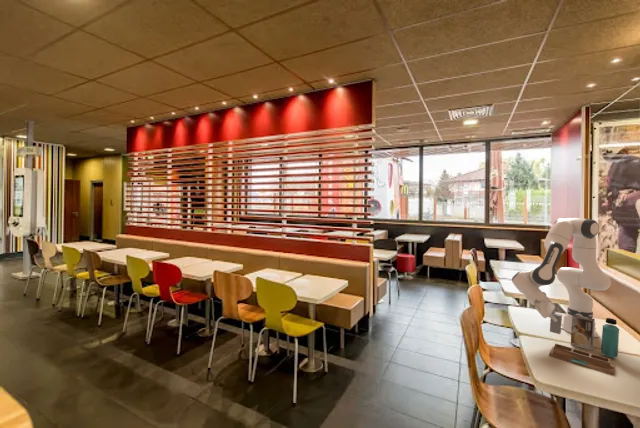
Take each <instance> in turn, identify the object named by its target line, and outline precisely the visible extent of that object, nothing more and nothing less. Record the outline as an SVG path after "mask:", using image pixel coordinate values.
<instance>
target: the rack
mask: <svg viewBox="0 0 640 428" xmlns="http://www.w3.org/2000/svg"><path fill="white" fill-rule="evenodd" d="M548 356H549V357H552V358H556V359H559V360H563V361H565V362H568V363H571V364H575V365H579V366H582V367H585V368H589V369H592V370H595V371H599V372H603V373H604V374H609V375H612V376H614V375H615V363H612V362H611V358H608V357H607V356H601V355H598V354H595V353H591V352H587V351H584V350H580V349H576V348H573V347H570V346H566V345H562V344H559V343H555V344H554V345H553V346H552V347H551V350H550V352H549V353H548Z"/></svg>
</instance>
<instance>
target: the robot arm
mask: <svg viewBox="0 0 640 428" xmlns="http://www.w3.org/2000/svg"><path fill="white" fill-rule="evenodd" d="M599 232H600V225H599V223H598V221H596V220H594V219H591V218H583V217H581V218H580V217H560V218H557V219H556V220H555V221H554V223H553V225H552V226H551V228H550V229H549V231H548V232H547V234H546V237H545V239H544V242H543V246H544V248H545V250H546V253H545V255H544V258H543V259H542V262H541V264H540V265H539V266H538V267H536V268H534V269H533V270H532V269H531V270H527V271H518V272H516V273H515V274H514V275H513V276H512V277H511V283H512V285H514V287H515V288H516V289H517V290H518V292H520V293H521V294H522V295H523V296H524V297H525V299H526V300H527V301H528V302H529V303H530V304H531V305H532V306H534V308H535V310H536V311H537V312H538V313H539V315H540V316H541V317H542V318H543V319H547V318H550V320H551V319H552V320H553V321H554V322H557V321H558V319H557V318H556V317H555V316H553V314H552V313H556V314H557V312H556V311H555V309H556V305H555V304H554V302H553V301H552V300H551V299H550V298H549V297H548V296H547V293H546V292H545V291H542V290H541V289H540V287H543V286H549V285H551V284H553V283H554V281H555V279H556V278H557V281H559V282H560V283H561V284H562V285H563V286H564V288H565V289H566V291H567V294H568V306H567V310H566V311H567V312H566V313H567V314H565V315H563V320H562V321H563V322H562V323H561V330H564V331H566V332H567V333H569V334H571V328H572V317H573V315H574V314H575V315H580V316H584V317H588V318H592V319H594V312H593V305H594V303H593V302H594V300H593V298H592V297H591V296H590V295H589V294H587V293H586V292H585V291H584V290H583V289H588V290H592V291H607V290H608V289H609V288H610V287H611V285H612V280H611V278H610V277H609V275H608V274H607V273H605V272H604V271H603V270H602V269H601V268H600V266H599V264H598V261H597V235H598V234H599ZM572 237H573V238H572ZM571 240H572V246H571V247H572V249H571V250H572V251H571V257H572V260H573V261H574V262H575V263H577V264H579V265H580V266H581V267H582V268H576V267H570V266H569V267H567V266H565V267H563V266H562V267H560V268H559V269H558V270H557V272H556V267H557V264H558V262H559V260H560V259H561V255H562V254H563V253H564V252H565V251H566V249H567V247H568V246H569V244H570V242H571ZM596 329H597V328H596V322H594V338H600V335H599V332H597V330H596Z"/></svg>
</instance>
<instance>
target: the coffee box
mask: <svg viewBox="0 0 640 428" xmlns="http://www.w3.org/2000/svg"><path fill="white" fill-rule="evenodd" d="M595 321H596V320H595V318H588V317H584V316H580V315H575V314H574V315H573V317H572V328H571V333H570V345H571V346H573V345H574V346H573V347H578V348H580V347H581V349H584V350H587V351H593V349H594V338H595V337H594V322H595ZM595 323H596V322H595Z"/></svg>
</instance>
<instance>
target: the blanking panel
mask: <svg viewBox="0 0 640 428" xmlns="http://www.w3.org/2000/svg"><path fill="white" fill-rule="evenodd" d="M552 314H553V316H555V317H556V318H557V319H558V321H557V322H554V321H553V320H552V319H551V318H550V320H549V321H550V324H549V325H550V327H549V332H550V333H554V334H558V335H561V334H562V329H561V325H562V323H563V322H562V321H563V320H562V317H563V314H561V313H557V312H556V313H552Z"/></svg>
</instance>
